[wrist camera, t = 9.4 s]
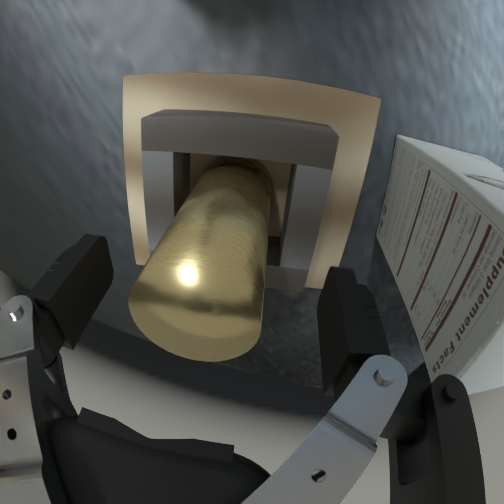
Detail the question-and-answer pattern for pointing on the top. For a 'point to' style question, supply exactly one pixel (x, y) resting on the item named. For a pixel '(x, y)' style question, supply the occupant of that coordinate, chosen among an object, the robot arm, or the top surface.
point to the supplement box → (448, 257)
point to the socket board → (265, 100)
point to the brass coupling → (210, 266)
